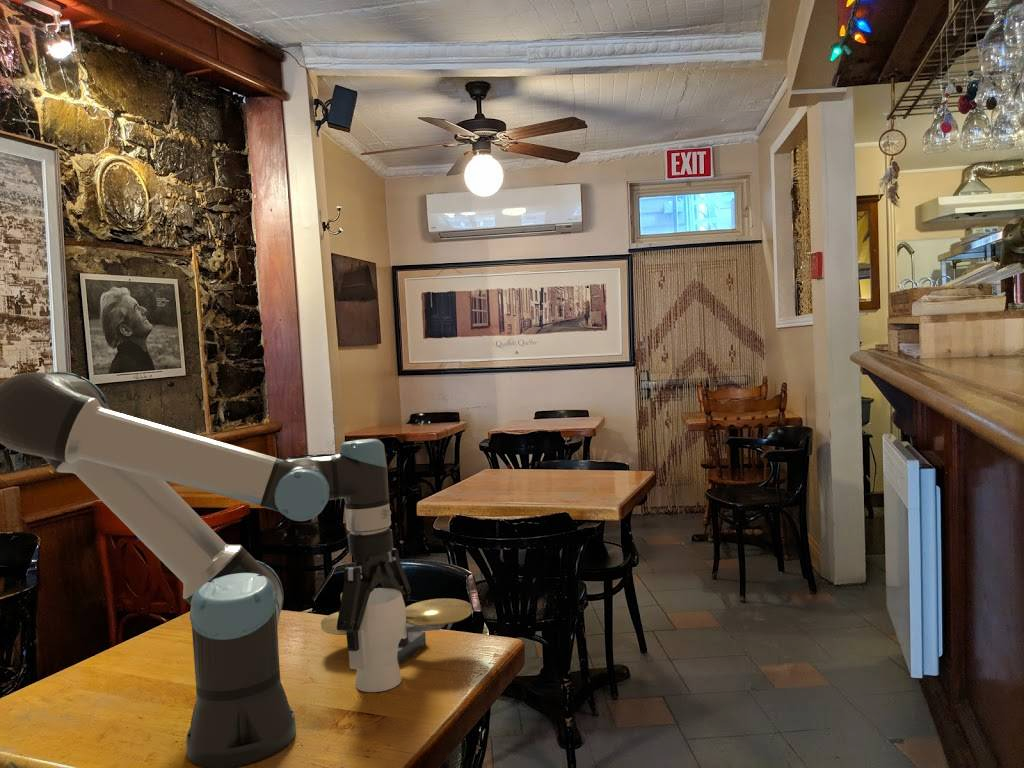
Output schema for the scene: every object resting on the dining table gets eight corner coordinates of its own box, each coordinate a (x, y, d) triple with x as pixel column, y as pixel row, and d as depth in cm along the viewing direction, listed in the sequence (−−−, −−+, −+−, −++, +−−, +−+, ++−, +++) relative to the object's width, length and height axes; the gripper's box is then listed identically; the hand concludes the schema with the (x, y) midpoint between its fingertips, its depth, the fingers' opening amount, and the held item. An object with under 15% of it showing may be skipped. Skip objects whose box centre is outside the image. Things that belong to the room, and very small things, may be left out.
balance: (455, 674, 128) (451, 603, 128) (308, 657, 140) (304, 593, 140) (485, 646, 140) (481, 582, 140) (347, 633, 152) (344, 573, 152)
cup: (404, 695, 121) (398, 604, 121) (340, 698, 121) (334, 607, 121) (414, 668, 132) (409, 585, 131) (355, 671, 132) (350, 588, 132)
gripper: (347, 548, 113) (359, 685, 113) (422, 514, 136) (432, 627, 137) (306, 548, 116) (318, 681, 116) (387, 514, 139) (396, 625, 140)
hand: (380, 652), depth 127 cm, fingers open, 13 cm apart
